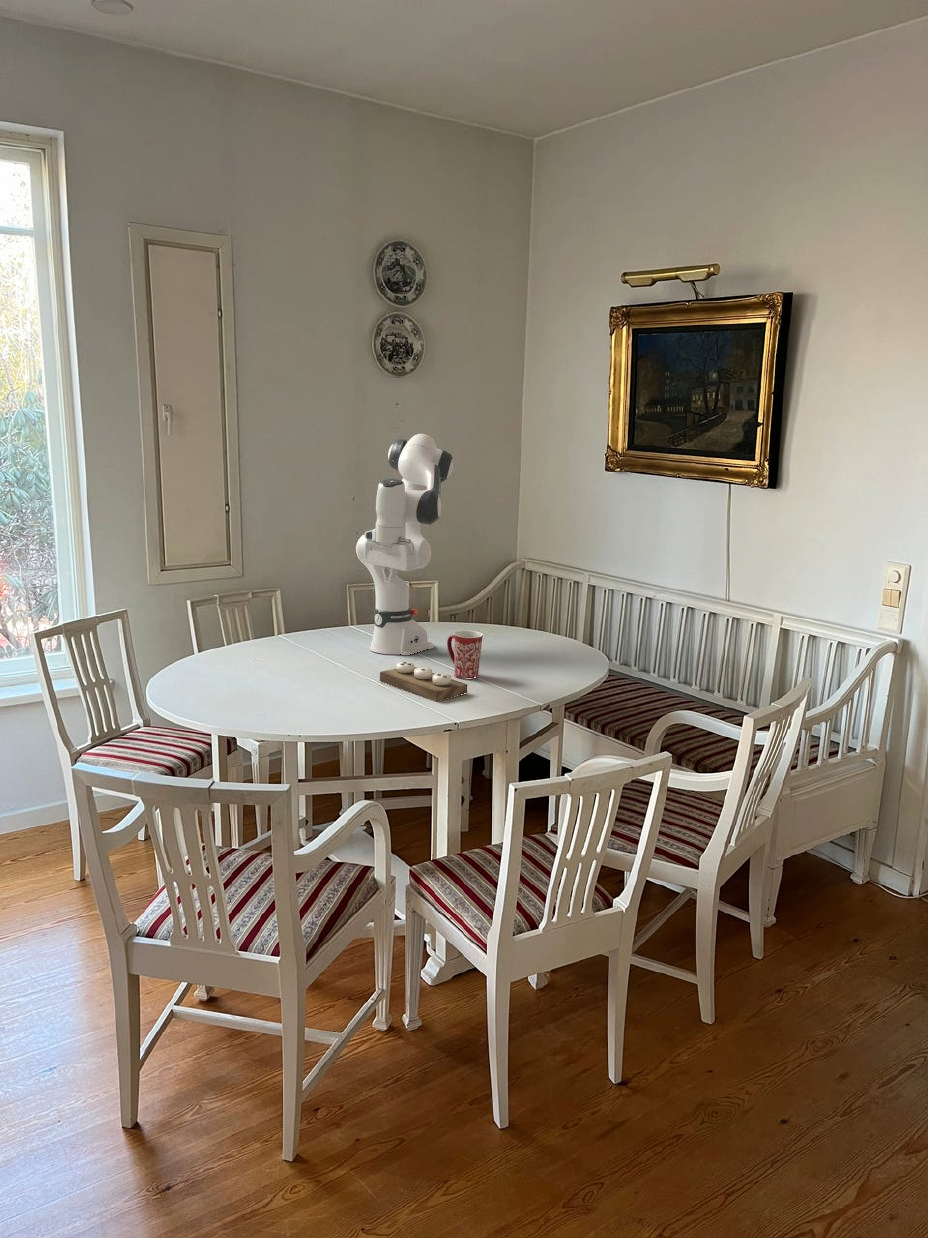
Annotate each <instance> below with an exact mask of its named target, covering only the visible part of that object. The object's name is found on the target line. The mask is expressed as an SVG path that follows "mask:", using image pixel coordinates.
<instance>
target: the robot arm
mask: <svg viewBox="0 0 928 1238" xmlns="http://www.w3.org/2000/svg"><path fill="white" fill-rule="evenodd" d="M387 457H388V459H387V460H388V465H389V467H391V468H392V469H394V470H396V471H398V472H399V474H400V475H401V477H402V479H401V480H400V479H398V478H389V479H383V480H381V481H380V482H379V483H378V485H377V492H376V500H375V501H376V502H375V512H376V521H375V528H374V529H371V530H367V531H365V532H364V534H362V535H361V536H360V538H358V540H357V542H356V545H355V553H356V555H357V558H358V560H359V561H360V562H361V563H362V564H363V565H364V566H365V568H367V570H368V572H369V573H370V575H371V578H372V580H373V584H374V591H375V607H374V608H373V620H374V626H373V627H374V628H373V635H372V638H371V639H372V640H371V644H370V646H369V650H370V651H372V652H374V653H378V654H382V655H400V654H401V656H411V655H414V653H415V654H417V652H418V653H421V652H424V651H423V650H425V651H427V650H426V649H428V650H430V649H431V650H432V649H435V644H434V643H433V642H431V641H429V640H428V633H427V630H426V629H425V627H423V626H422V625H421V624H419V623H418V622H417V621H416V620H414V618H413V616H418V615H419V610H418V609H415V608H412V609H411V608H410V607H409V606H410V604H409V603H410V587H409V585H408V583H407V582H406V581H405V580H403V579H402V578H401V577H399V576H398V573H399V571H401V572H402V571H403V572H414V571H415V570H416V569H424V568H425V567H426V566H427V565H428V564H429V562H430V560H431V558H432V549H431V546H430V543H429V542H428V540H427V539H426V538H425V537H424V536H423V534H422V532H421V524H423V525H424V524H425V525H429V526H430V525H433V524H435V522H437V521H438V520H439V519H440V516H441V513H442V501H441V484H442V483H443V482H445V481H446V480H448V478H449V476H451V474H452V472H453V469H454V459H453V458H454V457H453V455H452V453H450V452H448V451H447V450H444V449H440V448H437V445H436V441H435V440H434V438H432V437H431V436H430V435H428V434H426V433H418V434H415V435H413V436H412V437H410V439H409V440H407V439H405V438H404V439H397V440H394V441H393V442H392V444H391V445H390V447H389V449H388V454H387ZM420 651H421V652H420ZM410 654H411V655H410Z"/></svg>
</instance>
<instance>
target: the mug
mask: <svg viewBox="0 0 928 1238" xmlns="http://www.w3.org/2000/svg"><path fill="white" fill-rule="evenodd" d="M483 637H484V633H482V632H479V631H476V630H468V629H467V630H464V629H463V630H458V631H455V632H453V634H452V635H450V636H448V638H447V642H446V644H447V645H446V646H447V651H448V654H449V657H450V659H451V661H452V663H453V665H454V670H453V671H454V677H455V676H456V678H457V677H458V678H457V679H460V678H474V677H477V676H478V677H479V673H480V672H479V670H480V661H481V653H482V642H483ZM452 640H453V641H454V642H453V641H452ZM452 642H453V644H454V649H453V646H452ZM478 677H477V678H478Z"/></svg>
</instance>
